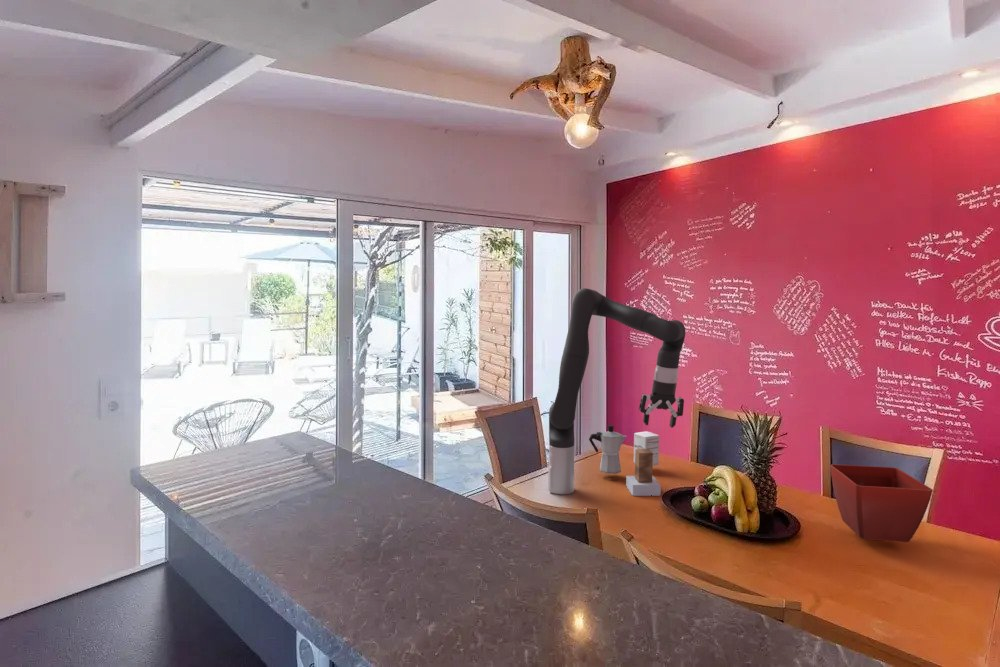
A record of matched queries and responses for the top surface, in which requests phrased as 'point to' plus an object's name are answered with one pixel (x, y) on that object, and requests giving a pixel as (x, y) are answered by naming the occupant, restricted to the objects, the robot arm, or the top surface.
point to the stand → (643, 487)
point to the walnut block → (643, 465)
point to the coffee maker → (609, 449)
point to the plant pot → (880, 501)
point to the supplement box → (647, 444)
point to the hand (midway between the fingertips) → (658, 425)
